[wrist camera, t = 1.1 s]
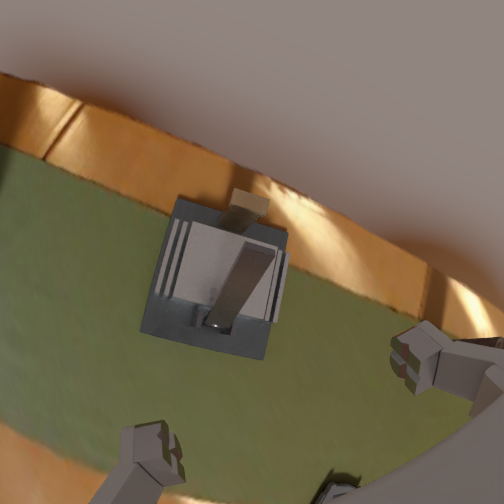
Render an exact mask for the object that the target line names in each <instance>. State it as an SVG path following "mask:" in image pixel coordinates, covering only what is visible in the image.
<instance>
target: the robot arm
mask: <svg viewBox="0 0 504 504" xmlns="http://www.w3.org/2000/svg"><path fill="white" fill-rule="evenodd" d="M390 346H391V347H392V348H393V351H392V352H391V354H390V364H391V367H392V369H393V371H394V373H395V374H396V375H397V376H398V377H399V378H403V379H405V386H406V387H407V388H408V389H409V390H410V391H411V392H412V394H413V395H414V396H416V395H418V394H419V393H421V392H423V391H425V390H427V389H428V388H430V387H432V386H433V387H435V388H438V389H440V390H443V391H446V392H448V393H451V394H454V395H456V396H459V397H462V398H465V399H467V400H470V401H473V405H472V407H471V410H470V413H469V416H470V417H471V418H472V420H470V421H469V422H468V423H466V424H465V425H464V426H462V427H461V428H460V429H458V430H457V431H455V432H454V433H453V434H451V435H450V436H448V437H447V438H445V439H444V440H442V441H441V442H440V443H438V444H436V445H435V446H433V447H432V448H430V449H429V450H427V451H426V452H424V453H422V454H421V455H419V456H418V457H416V458H414V459H413V460H411V461H409V462H407V463H406V464H404V465H402V466H400V467H399V468H397V469H395V470H393V471H391V472H390V473H388V474H386V475H384V476H382V477H380V478H378V479H376V480H374V481H372V482H370V483H368V484H366V485H364V486H362V487H360V488H357V489H355V490H353V491H351V492H349V493H346V494H344V495H342V496H339V497H337V498H335V499H332V500H330V501H327V502H325V503H322V504H504V349H498V348H493V347H488V346H482V345H477V344H472V343H467V342H462V341H455V342H453V341H452V340H451V339H450V338H448V337H447V336H446V335H445V334H444V333H442V332H441V331H440V330H439V329H438V328H436V327H435V326H434V325H433V324H431V323H430V322H429V321H427V320H424V321H423V322H421V323H419V324H417V325H415V326H413V327H411V328H409V329H407V330H405V331H404V332H402V333H400V334H398V335H396V336H394V337H392V339H391V344H390ZM182 457H183V456H182V450H181V446H180V443H179V441H178V439H177V437H176V435H175V434H174V433H173V432H170V431H169V427H168V424H167V423H166V422H165V421H164V420H159V421H154V422H149V423H143V424H138V425H133V426H127V427H122V429H121V432H120V449H119V465H118V466H115V467H114V468H113V470H112V471H111V473H110V474H109V475H108V477H107V478H106V480H105V481H104V483H103V484H102V485H101V487H100V488H99V490H98V491H97V492H96V494H95V495H94V497H93V498H92V499H91V501H90V502H89V504H157V502H158V500H159V498H160V495H161V493H162V491H163V489H164V488H163V487H167V486H172V485H177V484H182V483H186V479H185V471H184V467H183V465H182V464H181V463H180V460H181V459H182Z"/></svg>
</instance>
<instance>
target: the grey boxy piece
mask: <svg viewBox="0 0 504 504" xmlns="http://www.w3.org/2000/svg"><path fill="white" fill-rule="evenodd" d="M269 201H270V199H267V198H264V197H261V196H258V195H255V194H252V193H249V192H246V191H243V190H240V189H237V188H234V189H233V191H232V194H231V198H230V201H229V202H228V204H227V205H226V207H225V208H224V210H223V211H218V210H215V209H212V208H209V207H205V206H202V205H199V204H196V203H192V202H189V201H186V200H182V199H179V198H177V200H176V203H175V207H174V210H173V213H172V216H171V219H170V222H169V226H168V229H167V232H166V236H165V239H164V242H163V246H162V249H161V253H160V256H159V260H158V263H157V267H156V270H155V274H154V278H153V282H152V285H151V289H150V293H149V297H148V301H147V305H146V309H145V313H144V317H143V321H142V325H141V329H140V332H142V333H145V334H149V335H153V336H156V337H160V338H164V339H168V340H172V341H176V342H180V343H184V344H188V345H192V346H196V347H200V348H205V349H209V350H214V351H218V352H223V353H228V354H232V355H237V356H242V357H247V358H252V359H258V360H264V355H265V350H266V345H267V341H268V336H269V331H270V326H271V323H277V319H278V314H279V309H280V304H281V299H282V294H283V289H284V283H285V278H286V273H287V267H288V262H289V257H290V253H288V252H285V249H286V244H287V238H288V233H287V232H284V231H281V230H278V229H275V228H272V227H269V226H266V225H263V224H259V223H256V222H255V221H256V220H257V219H258V218H259V217H260V216H261V217H265V216H266V215H267V210H268V206H269ZM245 241H248V242H251V243H254V244H257V245H261V246H264V247H267V248H271V249H274V250H275V255H276V256H275V258H274V259H273V261H272V262H271V264H270V265H269V267H268V269H267V270H266V272H265V273H264V275H263V276H262V278H261V279H260V281H259V283H258V284H257V286H256V287H255V289H254V290H253V292H252V293H251V295H250V296H249V298H248V300H247V301H246V303H245V304H244V306H243V307H242V309H241V310H240V312H239V313H238V315H237V316H236V318H235V319H234V321H233V322H232V324H231V325H230V329H229V331H228V332H227V331H223V330H219V329H214V328H210V327H206V326H203V320H204V317H205V316H207V314H208V312H209V310H210V308H211V306H212V304H213V302H214V300H215V298H216V296H217V294H218V292H219V290H220V288H221V286H222V285H223V283H224V281H225V279H226V277H227V275H228V273H229V271H230V269H231V267H232V265H233V263H234V261H235V259H236V257H237V256H238V254H239V252H240V250H241V248H242V246H243V244H244V242H245Z"/></svg>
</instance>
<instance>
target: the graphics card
mask: <svg viewBox="0 0 504 504" xmlns="http://www.w3.org/2000/svg"><path fill="white" fill-rule="evenodd" d="M360 487H361V486H358V487H357V488H360ZM357 488H356V487H354V486H352V485H350V484H348V483H343V484H336V483H334V482H331V483H328V485H327V487H326V489H325V491H324V492H322V493H321V494H320V496H319V497H318V499H317V501H316V502H315V504H322V503H325V502H327V501H330V500H332V499H335V498H337V497H339V496H342V495H344V493H349V492H351V491H353V490H355V489H357Z"/></svg>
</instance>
